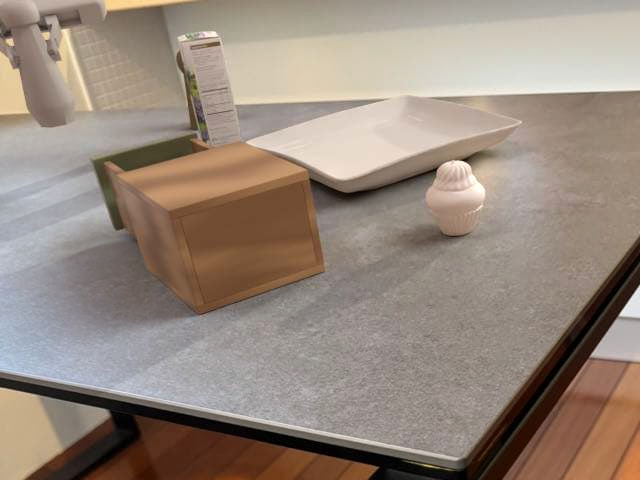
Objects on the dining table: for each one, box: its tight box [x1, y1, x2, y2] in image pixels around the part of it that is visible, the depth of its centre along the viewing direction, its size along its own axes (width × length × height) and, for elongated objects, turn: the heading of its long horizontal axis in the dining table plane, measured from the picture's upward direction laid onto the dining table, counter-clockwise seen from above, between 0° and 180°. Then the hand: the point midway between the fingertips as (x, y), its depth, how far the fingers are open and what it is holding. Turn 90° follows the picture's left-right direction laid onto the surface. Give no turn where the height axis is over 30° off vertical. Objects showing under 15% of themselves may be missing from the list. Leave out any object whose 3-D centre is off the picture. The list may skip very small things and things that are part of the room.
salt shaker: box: [0, 0, 76, 129], centre depth 97 cm, size 6×6×13 cm
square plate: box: [244, 94, 523, 194], centre depth 106 cm, size 27×27×4 cm
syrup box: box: [176, 30, 243, 147], centre depth 116 cm, size 6×6×14 cm
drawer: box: [89, 130, 216, 240], centre depth 91 cm, size 19×12×8 cm, turn 32°
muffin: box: [425, 160, 486, 237], centre depth 82 cm, size 6×6×7 cm
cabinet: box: [116, 140, 326, 315], centre depth 80 cm, size 16×14×10 cm
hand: (36, 61), depth 97 cm, fingers closed on salt shaker, 3 cm apart
